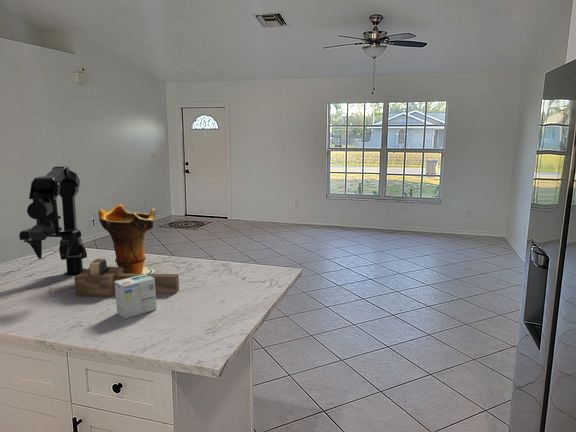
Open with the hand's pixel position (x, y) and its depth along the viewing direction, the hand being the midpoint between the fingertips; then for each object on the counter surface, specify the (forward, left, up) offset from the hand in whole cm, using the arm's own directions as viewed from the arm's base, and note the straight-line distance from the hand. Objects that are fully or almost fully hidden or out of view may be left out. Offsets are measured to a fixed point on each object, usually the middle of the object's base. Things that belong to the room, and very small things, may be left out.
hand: (53, 258), depth 147 cm
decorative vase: (-24, +17, -13) cm, 32 cm away
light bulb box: (+14, +34, -13) cm, 39 cm away
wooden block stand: (-4, +25, -13) cm, 28 cm away
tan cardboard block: (-4, +14, -10) cm, 18 cm away
